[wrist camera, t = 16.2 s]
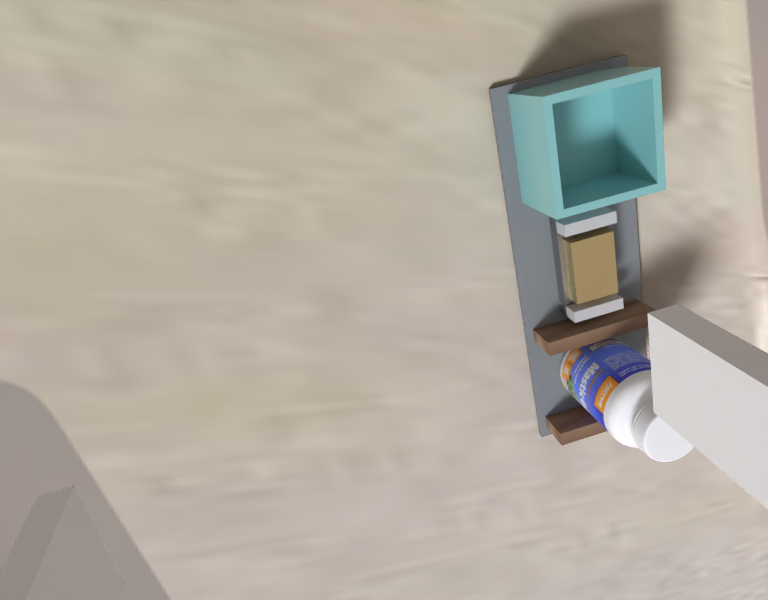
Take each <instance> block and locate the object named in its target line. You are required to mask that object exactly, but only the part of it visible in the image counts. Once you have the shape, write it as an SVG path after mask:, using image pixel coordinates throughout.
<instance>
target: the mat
mask: <svg viewBox="0 0 768 600" xmlns="http://www.w3.org/2000/svg"><path fill="white" fill-rule="evenodd" d="M611 67H627V58H626V55H621V56H617V57H613V58H610V59H606V60H602V61H598V62H594V63H590V64H586V65H582V66H578V67H574V68H570V69H566V70H562V71H558V72H554V73H550V74H546V75H542V76H538V77H534V78H530V79H526V80H523V81H519V82H515V83H511V84H507V85H503V86H499V87H495V88H491V89H489V94H490V101H491V108H492V115H493V121H494V128H495V135H496V142H497V149H498V155H499V162H500V169H501V176H502V182H503V189H504V196H505V203H506V210H507V216H508V223H509V230H510V237H511V243H512V250H513V257H514V264H515V270H516V277H517V284H518V291H519V298H520V304H521V311H522V318H523V325H524V331H525V338H526V345H527V352H528V359H529V365H530V372H531V379H532V386H533V392H534V399H535V406H536V413H537V420H538V426H539V433H540V435H541V437H544V436H547V435H550V434H552V433H551V432H550V431H549V429H548V428H547V425H546V418H545V416H548V415H551V414H555V413H558V412H561V411H564V410H567V409H571V408H574V407H577V406H580V405H581V404H580V403H579V402H578V401H577V400H576V399H575V398H574V397H573V396H572V395H571V394H570V393H569V392H568V391H567V389H566V388H565V387H564V385H563V383H562V380H561V376H560V368H561V363H562V360H563V357H564V355H565V353H566V352H567V351H565V352H562V353H559V354H556V355H552V356H549V355H548V354H547V353H546V352H545V351H544V350H543V349H542V348H541V347H540V346H539V345H538V344H537V343H536V342H535V340H534V333H533V329H535V328H539V327H542V326H545V325H549V324H552V323H555V322H559V321H562V320H566V319H569V318H568V317H567V316H566V315H564V314H563V313H562V312H561V311H560V304H559V295H558V287H557V279H556V271H555V262H554V254H553V246H552V238H551V229H550V221H549V218H551V217H550V216H548V215H546V214H544V213H542V212H540V211H538V210H536V209H534V208H532V207H530V206H528V205H526V204H524V203H522V196H521V189H520V181H519V174H518V167H517V159H516V152H515V145H514V137H513V130H512V123H511V116H510V108H509V101H508V93H512V92H516V91H520V90H524V89H528V88H532V87H536V86H540V85H544V84H548V83H552V82H556V81H560V80H563V79H567V78H571V77H575V76H579V75H583V74H587V73H591V72H595V71H599V70H603V69H607V68H611ZM605 207H607V208H610V209H613V210H615V211H616V214H617V223H614V224H611V225H608V229H610V230H612V231H613V232H614V244H615V256H616V269H617V281H618V293H616V294H617V295H619V296H621V297H622V298H623V302H626V301H629V300H633V299H637V300H639V301H640V302H642V289H641V274H640V259H639V243H638V228H637V212H636V198H633V199H630V200H626V201H622V202H619V203H615V204H612V205H608V206H605ZM615 337H617V338H619V339H620V340H622V341H623V342H625V343H626V344H627V345H629V346H630V347H631V348H633V349H634V350H636V351H637V352H638V353H640V354H641V355H642V356H644V357H645V358H646V351H645V336H644V328H641V329H638V330H635V331H632V332H628V333H625V334H622V335H618V336H615Z"/></svg>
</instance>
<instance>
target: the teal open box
mask: <svg viewBox="0 0 768 600" xmlns="http://www.w3.org/2000/svg"><path fill="white" fill-rule="evenodd" d="M508 101H509V108H510V116H511V123H512V130H513V137H514V145H515V152H516V159H517V167H518V174H519V181H520V189H521V196H522V203H524V204H526V205H528V206H530V207H532V208H534V209H536V210H538V211H540V212H542V213H544V214H546V215H548V216H550V217H552V218H554V219H556V220H558V219H562V218H565V217H569V216H572V215H576V214H579V213H583V212H587V211H590V210H594V209H597V208H601V207H605V206H608V205H612V204H615V203H619V202H622V201H626V200H630V199H633V198H637V197H640V196H644V195H648V194H651V193H655V192H658V191H662V190H665V189H666V179H665V157H664V135H663V113H662V91H661V69H660V67H611V68H607V69H603V70H599V71H595V72H591V73H587V74H583V75H579V76H575V77H571V78H567V79H563V80H560V81H556V82H552V83H548V84H544V85H540V86H536V87H532V88H528V89H524V90H520V91H516V92H512V93H508Z"/></svg>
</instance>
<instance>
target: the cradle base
mask: <svg viewBox="0 0 768 600" xmlns="http://www.w3.org/2000/svg"><path fill="white" fill-rule="evenodd" d="M549 221H550V229H551V238H552V246H553V254H554V262H555V271H556V279H557V287H558V295H559V304H560V311H561V312H562V313H563V314H564V315H566V316H567V317H568V318H570V319H571V320H572V321H573V322H575V323H577V322H580V321H583V320H587V319H590V318H593V317H597V316H600V315H603V314H607V313H610V312H613V311H617V310H620V309H624V304H623V298H622V297H621V296H619V295H617V294H616V293H615V294H611V295H608V296H605V297H601V298H598V299H594V300H591V301H588V302H584V303H581V304H576V303H575V302H573V301H572V300H570V299H569V294H568V285H567V276H566V267H565V259H564V250H563V241H562V239H563V238H566V237H570V236H574V235H577V234H581V233H584V232H588V231H591V230H595V229H598V228H602V227H605V228H607V229H608V225H611V224H614V223H617V214H616V211H615V210H613V209H610V208H607V207H601V208H597V209H594V210H590V211H587V212H583V213H579V214H576V215H572V216H569V217H565V218H562V219H558V220H556V219H554V218H552V217H551V218H549Z"/></svg>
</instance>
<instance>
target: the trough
mask: <svg viewBox="0 0 768 600" xmlns="http://www.w3.org/2000/svg"><path fill="white" fill-rule="evenodd" d="M623 304H624V309H620V310H617V311H613V312H610V313H607V314H603V315H600V316H597V317H593V318H590V319H587V320H583V321H580V322H577V323H575V322H573V321H572V320H571V319H570V318H569V319H566V320H562V321H559V322H555V323H552V324H549V325H545V326H542V327H539V328H535V329H533V333H534V340H535V342H536V343H537V344H538V345H539V346H540V347H541V348H542V349H543V350H544V351H545V352H546V353H547V354H548V355H549V356H552V355H556V354H559V353H562V352H565V351H569V350H572V349H575V348H579V347H582V346H585V345H589V344H592V343H595V342H599V341H602V340H605V339H608V338H612V337H615V336H618V335H622V334H625V333H628V332H632V331H635V330H638V329H641V328H645V327H648V313H649V312H652V311H656V310H654V309H652V308H650V307H649V306H647V305H645V304H644V303H642V302H640V301H639V300H637V299H633V300H629V301H626V302H623ZM545 418H546V425H547V428H548V429H549V431H550V432H551V433H552V434H553V435H554V437H555V438H556V439H557V440H558V441H559V443H560V444H561V445H565V444H568V443H571V442H574V441H577V440H580V439H583V438H587V437H590V436H593V435H596V434H599V433H602V432H605V431H607V430H606V429H605V428H604V427H603V426H602V425H601V424H600V423H599V422H598V421H597V420H596V419H595V418H594V417H593V416H592V415H591V414H590V413H589V412H588V411H587V410H586V409H585V408H584V407H583V406H582V405H580V406H577V407H574V408H571V409H567V410H564V411H561V412H558V413H555V414H551V415H548V416H545Z"/></svg>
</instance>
